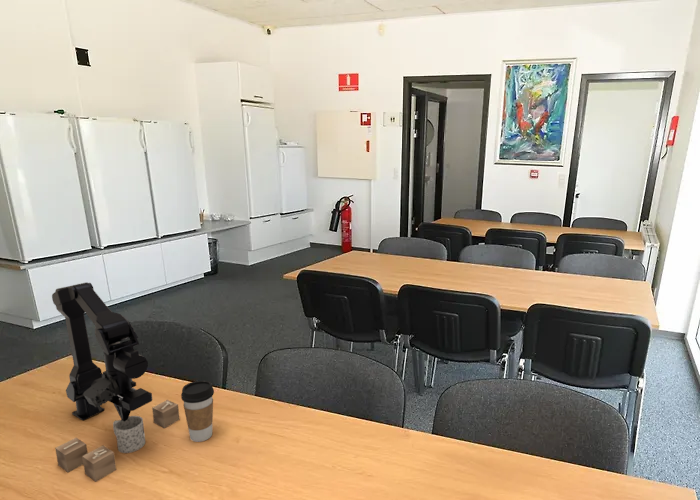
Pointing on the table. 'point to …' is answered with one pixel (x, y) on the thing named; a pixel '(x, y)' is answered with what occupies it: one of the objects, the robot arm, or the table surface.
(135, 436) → the mug
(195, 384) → the coffee cup
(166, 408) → the brown and beige block
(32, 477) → the table surface
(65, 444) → the walnut block one
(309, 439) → the table surface
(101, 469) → the walnut block four
